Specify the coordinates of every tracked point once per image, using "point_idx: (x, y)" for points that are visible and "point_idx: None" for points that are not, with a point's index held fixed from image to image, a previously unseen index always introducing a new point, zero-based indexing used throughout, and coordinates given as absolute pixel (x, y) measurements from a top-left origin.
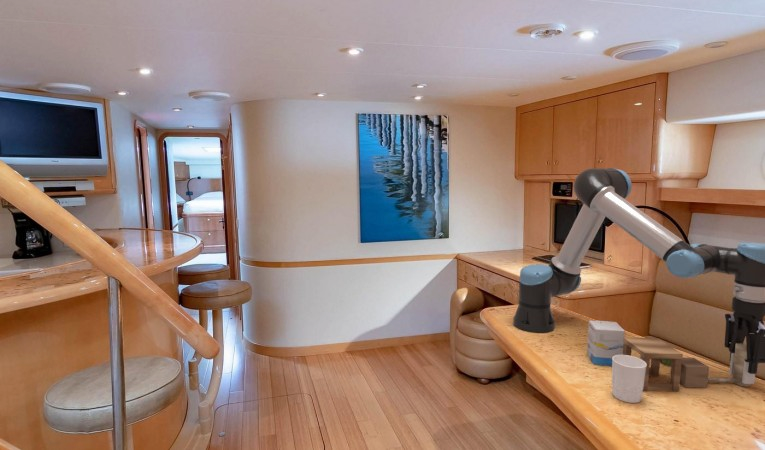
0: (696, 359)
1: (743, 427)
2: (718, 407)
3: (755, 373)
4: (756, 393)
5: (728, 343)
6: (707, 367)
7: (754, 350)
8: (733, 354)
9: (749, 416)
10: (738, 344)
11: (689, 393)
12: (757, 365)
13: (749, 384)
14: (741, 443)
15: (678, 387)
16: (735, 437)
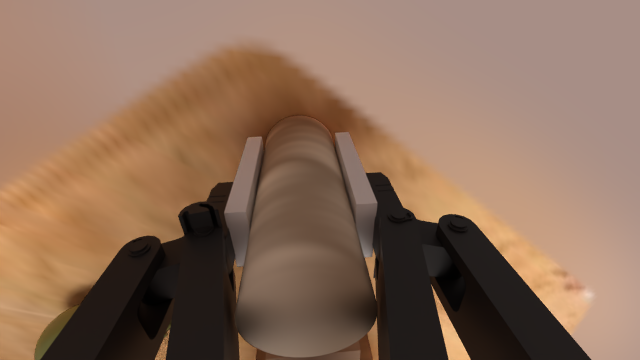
0: (285, 358)
1: (543, 290)
2: None
3: (382, 177)
4: (387, 141)
5: (168, 313)
6: (359, 351)
7: (467, 349)
8: None
9: (511, 254)
10: (280, 343)
11: (376, 319)
12: (402, 206)
13: (330, 135)
14: (581, 318)
15: (369, 347)
16: (563, 318)
